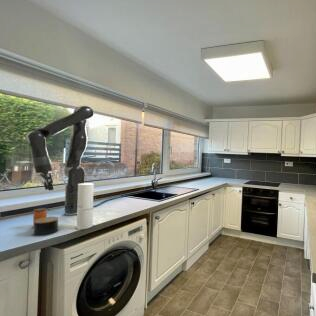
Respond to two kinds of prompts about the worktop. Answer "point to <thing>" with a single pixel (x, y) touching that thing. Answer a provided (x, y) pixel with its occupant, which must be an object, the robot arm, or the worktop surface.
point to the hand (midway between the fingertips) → (49, 189)
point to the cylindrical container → (85, 205)
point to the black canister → (45, 226)
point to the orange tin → (39, 214)
